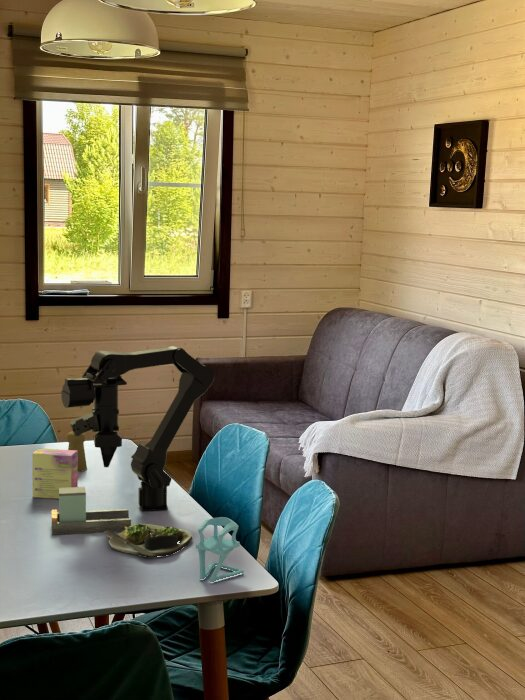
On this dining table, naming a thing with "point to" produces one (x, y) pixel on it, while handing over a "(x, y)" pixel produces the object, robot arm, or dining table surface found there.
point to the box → (53, 471)
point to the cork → (78, 444)
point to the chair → (217, 547)
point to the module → (72, 504)
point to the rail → (93, 522)
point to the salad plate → (149, 540)
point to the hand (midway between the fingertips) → (106, 466)
